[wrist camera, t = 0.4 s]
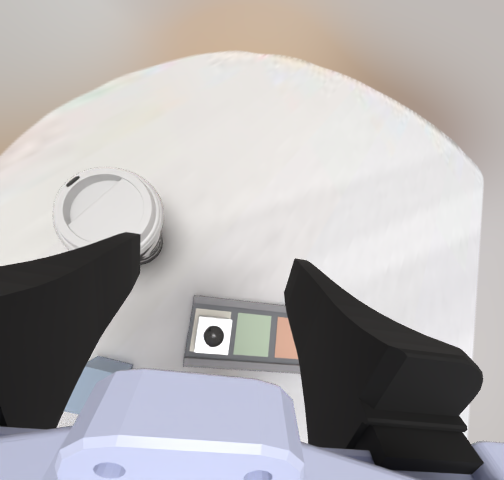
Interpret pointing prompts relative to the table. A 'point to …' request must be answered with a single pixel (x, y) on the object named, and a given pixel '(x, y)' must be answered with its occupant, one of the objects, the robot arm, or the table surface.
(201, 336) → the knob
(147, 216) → the coffee cup
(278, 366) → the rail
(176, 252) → the table surface
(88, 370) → the slate-blue block
